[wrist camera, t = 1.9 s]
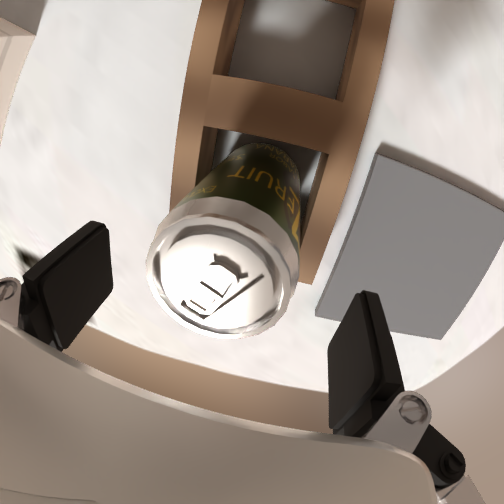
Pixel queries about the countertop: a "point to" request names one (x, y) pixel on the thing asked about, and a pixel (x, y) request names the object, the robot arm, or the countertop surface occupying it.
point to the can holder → (280, 113)
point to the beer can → (231, 246)
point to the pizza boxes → (11, 63)
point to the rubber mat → (413, 249)
